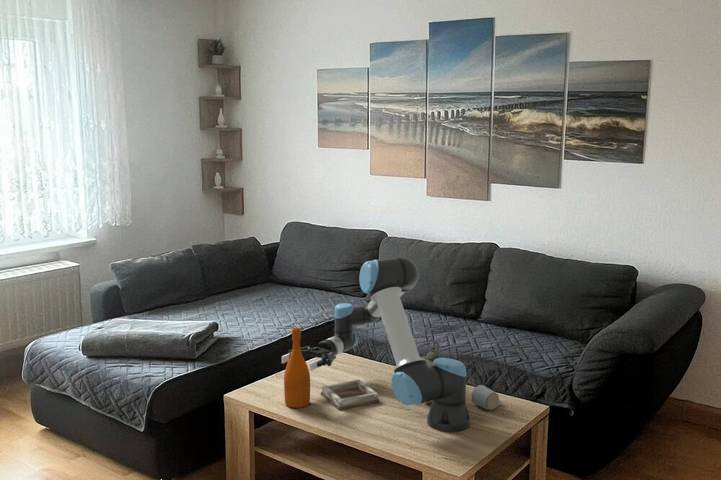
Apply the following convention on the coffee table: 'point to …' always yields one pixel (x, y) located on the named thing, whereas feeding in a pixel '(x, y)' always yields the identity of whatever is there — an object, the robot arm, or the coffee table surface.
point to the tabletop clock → (431, 357)
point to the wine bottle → (296, 376)
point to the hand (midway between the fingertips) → (296, 363)
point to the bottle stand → (349, 394)
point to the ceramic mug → (485, 398)
